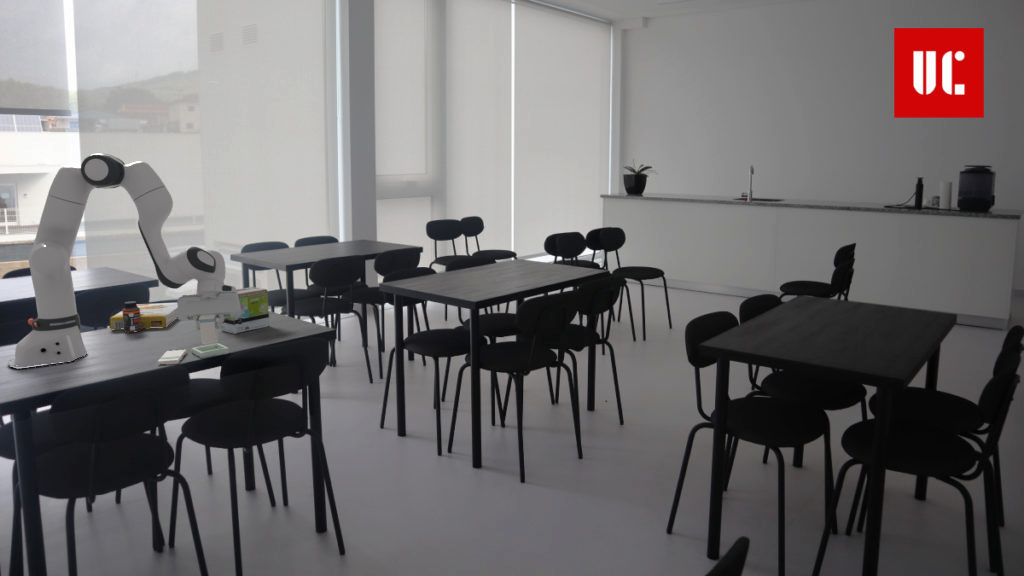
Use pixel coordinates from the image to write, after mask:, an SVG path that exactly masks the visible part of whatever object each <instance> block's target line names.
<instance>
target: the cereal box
mask: <svg viewBox="0 0 1024 576" xmlns="http://www.w3.org/2000/svg"><path fill="white" fill-rule="evenodd" d="M136 304H137V303H136ZM137 307H139V308H140V316H141V325H142V328H150V327H166V326H167V325H169V324H170V323H171V322H172V321H173V320H174V319H175V318H177V314H176V312H177V307H178V305H177V302H162V303H142V304H141V303H139V304H137ZM177 319H178V318H177ZM109 324H110V325H109V327H110V328H109V329H110V330H111V331H113V330H112V329H121V328H124V322H123V312H122V310H121V311H118V313H116V314H114V315H112V316H111V317H109ZM171 324H172V323H171ZM171 324H170V325H171ZM170 325H169V326H170Z"/></svg>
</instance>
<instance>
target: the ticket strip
mask: <svg viewBox="0 0 1024 576" xmlns="http://www.w3.org/2000/svg"><path fill="white" fill-rule="evenodd" d="M184 355H185V356H186V355H187V349H185V348H182V349H178V348H177V349H174V350H172V349H169V350H167V351H166V352H164V353H163V355H162V356H161V357H160V358H159V359H158V360H157V365H158V366H161V365H160V364H166V365H175V364H176V365H177V364H180V362H181V361H182V360H183V358H184V357H185V356H184ZM183 356H184V357H183ZM180 360H181V361H180Z"/></svg>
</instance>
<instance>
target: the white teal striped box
mask: <svg viewBox="0 0 1024 576" xmlns="http://www.w3.org/2000/svg"><path fill="white" fill-rule="evenodd" d="M215 322H217V318H216V314H211V315H201V316H200V317H199V322H198V323H200V330H199V331H200V338H201V344H202V345H211V344H216V343H218V342H219V334H218V329H216V328H215Z"/></svg>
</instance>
